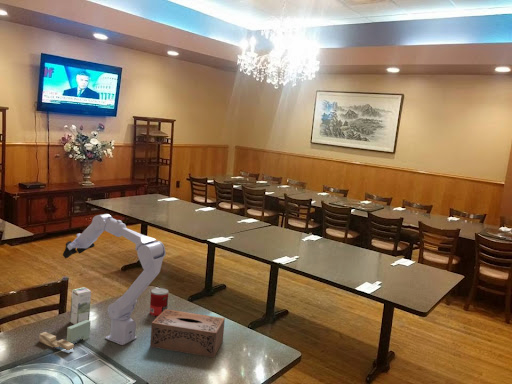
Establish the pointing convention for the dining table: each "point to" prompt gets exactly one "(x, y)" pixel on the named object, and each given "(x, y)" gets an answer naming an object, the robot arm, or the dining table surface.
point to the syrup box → (80, 305)
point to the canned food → (158, 301)
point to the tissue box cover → (187, 332)
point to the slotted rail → (54, 341)
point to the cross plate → (78, 331)
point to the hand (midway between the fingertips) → (71, 253)
